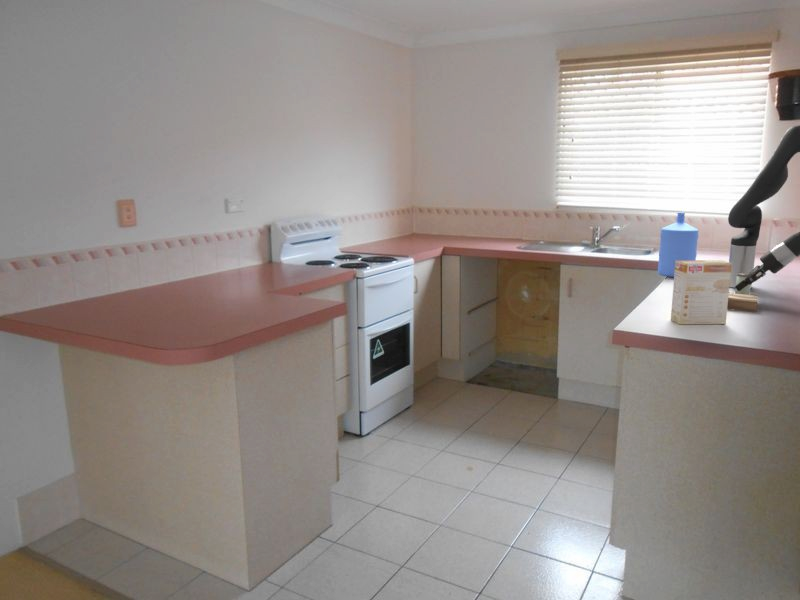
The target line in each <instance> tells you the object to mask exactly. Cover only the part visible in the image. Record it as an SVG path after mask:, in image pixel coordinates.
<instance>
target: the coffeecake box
mask: <svg viewBox="0 0 800 600" xmlns="http://www.w3.org/2000/svg"><path fill="white" fill-rule="evenodd" d="M731 266H732V263H729V261H725V260H723V259H713V260H711V259H710V260H709V259H708V260H702V259H701V260H699V259H698V260H687V261H676V262H675V274H674V277H673V287H672V288H673V290H672V299H671V310H670V311H671V312H670V313H671V314H670V321H672V320H673V321H672V322H674V323H676V324H678V325H680V324H681V325H726V323H727V315H728V309H727V306H728V296H729V293H730V287H729V286H730V276H731Z"/></svg>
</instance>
